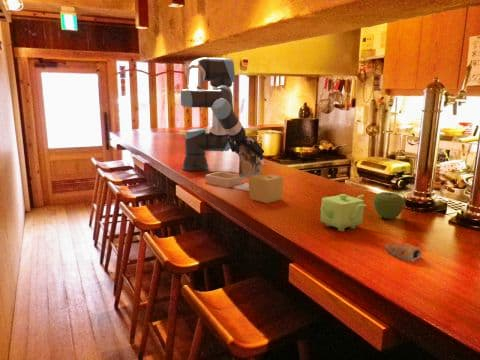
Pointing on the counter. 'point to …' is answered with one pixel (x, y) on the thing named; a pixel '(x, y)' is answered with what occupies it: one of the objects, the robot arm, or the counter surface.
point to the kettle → (342, 211)
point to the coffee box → (248, 162)
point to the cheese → (265, 188)
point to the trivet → (243, 187)
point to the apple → (388, 204)
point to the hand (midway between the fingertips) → (254, 161)
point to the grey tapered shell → (404, 251)
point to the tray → (223, 179)
